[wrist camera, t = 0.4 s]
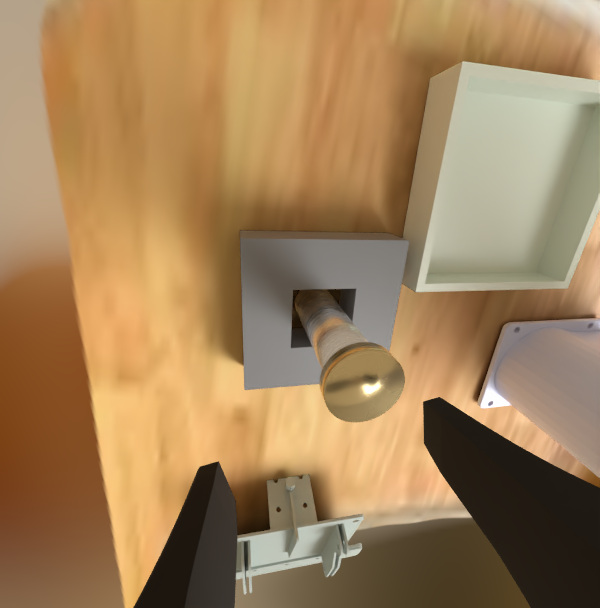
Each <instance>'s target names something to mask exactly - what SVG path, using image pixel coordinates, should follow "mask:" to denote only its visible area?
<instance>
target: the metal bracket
mask: <svg viewBox="0 0 600 608" xmlns="http://www.w3.org/2000/svg"><path fill="white" fill-rule="evenodd" d="M302 477H303V478H302V479H299V476H294V477H287V478H281V479H278V482H277V483H275V482H274V480H267V493H268V506H269V519H270V530H266V531H260V532H254V533H249V534H243V535H237V536H238V538H237V562H236V580H237V579H241V578H243V588H244V594H246V577H249V586H250V593H252V579H251V576H255V575H260V574H265V573H269V572H275V571H279V570H284V569H290V568H295V567H299V566H305V565H310V564H314V563H320V562H322V563H323V568H324V573H325V576H326V577H328V576H329V575H331V576H333V575H334V574H335V572H336V571H337V570H338V568H339V567H340V562H341V558H345V557H350V556H355V555H357V554H358V553H359V552H360V551H361V549H362V545H361V543H359V544H353V545H348V541H349V539H350V538H351V537H352V535H353V534H354V532H355V531H356V529H357V528H358V526H359V525H360V523H361V522H362V520H363V519H364V515H363V514H358V515H353V516H347V517H341V518H335V519H329V520H324V521H317V516H316V510H315V505H314V499H313V493H312V488H311V482H310V477H309V474H308V475H302ZM303 504H307V507H306V508H304V507H303ZM277 508H280V509H281V511H280V512H277V511H276V509H277Z"/></svg>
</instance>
